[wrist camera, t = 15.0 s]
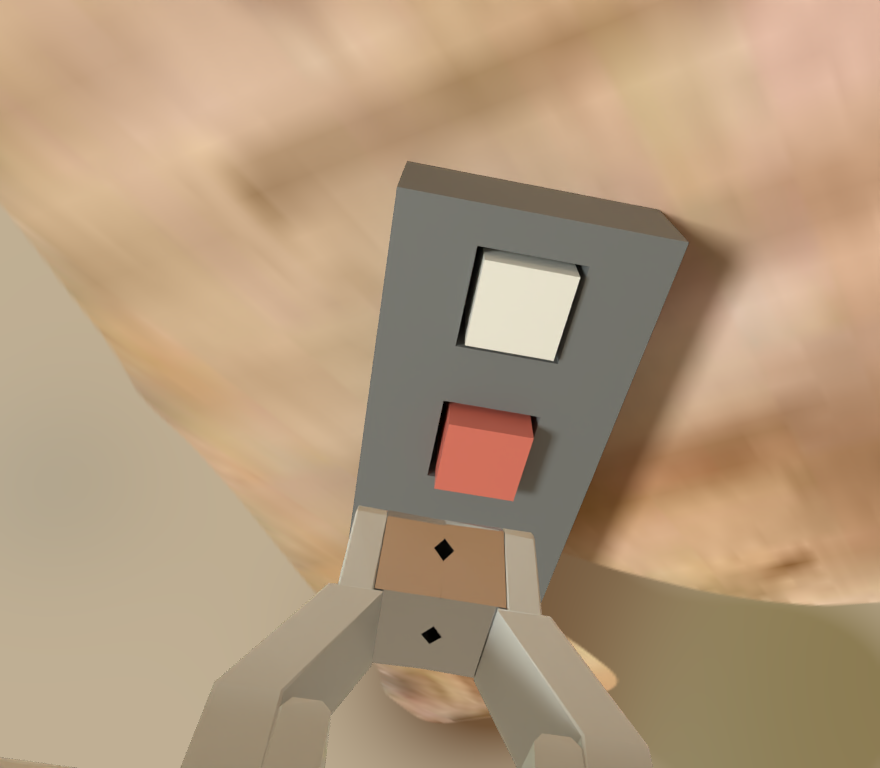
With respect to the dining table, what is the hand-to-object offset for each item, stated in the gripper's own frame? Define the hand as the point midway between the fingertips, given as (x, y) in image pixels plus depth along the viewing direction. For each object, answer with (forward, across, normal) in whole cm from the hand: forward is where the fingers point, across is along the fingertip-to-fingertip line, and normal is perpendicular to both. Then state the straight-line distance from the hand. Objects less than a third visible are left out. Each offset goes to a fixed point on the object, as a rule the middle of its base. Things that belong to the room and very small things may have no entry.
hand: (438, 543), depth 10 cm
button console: (+24, -3, +13) cm, 27 cm away
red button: (+22, -3, +13) cm, 26 cm away
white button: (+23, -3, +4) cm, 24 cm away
